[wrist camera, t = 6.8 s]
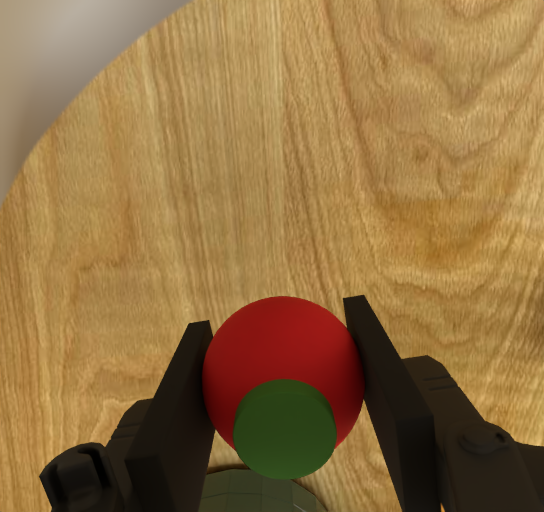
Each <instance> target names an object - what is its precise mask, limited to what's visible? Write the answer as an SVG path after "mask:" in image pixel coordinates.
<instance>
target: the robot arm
mask: <svg viewBox="0 0 544 512" xmlns="http://www.w3.org/2000/svg"><path fill="white" fill-rule="evenodd" d="M343 303H344V310H345V318H346V325H347V329H348V331H349V332H350V333H351V335H352V337H353V339H354V341H355V343H356V344H357V346H358V349H359V353H360V356H361V361H362V365H363V371H364V376H365V393H364V401H365V404H366V407H367V410H368V413H369V415H370V418H371V421H372V424H373V427H374V430H375V433H376V436H377V439H378V442H379V445H380V447H381V450H382V453H383V456H384V459H385V462H386V465H387V468H388V471H389V474H390V477H391V480H392V482H393V485H394V488H395V491H396V494H397V497H398V500H399V503H400V506H401V509H402V512H441V504H442V506H443V508H444V510H445V512H544V447H542V446H533V445H528V444H522V443H519V442H516V441H514V439H513V438H512V437H511V435H510V434H509V433H508V432H506V431H505V430H503V429H502V428H501V427H499V426H497V425H494V424H492V423H489V422H486V421H484V419H483V418H482V417H481V415H480V414H479V413H478V411H477V410H476V409H475V407H474V406H473V405H472V403H471V402H470V401H469V399H468V398H467V397H466V395H465V394H464V393H463V391H462V390H461V389H460V387H458V385H457V383H456V382H455V381H454V379H453V378H452V377H451V376H450V374H449V373H448V371H447V370H446V369H445V367H444V366H443V365H442V363H440V362H438V361H436V360H435V359H433V358H431V357H430V356H428V355H425V356H418V357H412V358H405V359H401V358H400V356H399V355H398V353H397V351H396V349H395V348H394V346H393V344H392V342H391V341H390V339H389V337H388V336H387V334H386V332H385V330H384V329H383V327H382V325H381V323H380V322H379V320H378V318H377V317H376V315H375V313H374V311H373V310H372V308H371V306H370V304H369V303H368V301H367V299H366V298H365V296H364V295H360V296H354V297H347V298H343ZM212 339H213V334H212V330H211V326H210V322H209V320H206V321H200V322H194V323H189V324H188V326H187V328H186V330H185V332H184V335H183V337H182V339H181V341H180V343H179V345H178V347H177V349H176V351H175V353H174V356H173V358H172V360H171V362H170V364H169V366H168V368H167V370H166V372H165V374H164V377H163V379H162V381H161V383H160V385H159V387H158V389H157V391H156V393H155V395H154V398H152V399H146V400H139V401H137V402H136V403H135V404H134V405H132V406H131V407H130V408H129V409H128V410H127V411H126V412H125V413H124V415H123V417H122V418H121V420H120V422H119V424H118V426H117V429H115V431H114V433H113V435H112V436H111V440H109V442H108V444H107V445H106V447H104V446H103V445H102V444H101V443H94V442H90V443H85V444H80V445H77V446H75V447H72V448H70V449H68V450H66V451H64V452H63V453H61V454H60V455H58V456H57V457H55V458H54V459H53V460H52V461H51V462H50V463H49V464H48V465H47V466H45V468H44V469H43V471H42V473H41V474H40V476H39V477H40V480H41V482H42V485H43V487H44V489H45V492H46V494H47V497H48V499H49V502H50V504H51V506H52V510H51V512H198V511H199V506H200V501H201V496H202V491H203V487H204V482H205V477H206V472H207V467H208V463H209V458H210V453H211V448H212V443H213V438H214V434H215V427H214V425H213V423H212V421H211V419H210V417H209V415H208V412H207V410H206V407H205V403H204V398H203V393H202V370H203V364H204V359H205V356H206V352H207V350H208V347H209V345H210V343H211V341H212Z"/></svg>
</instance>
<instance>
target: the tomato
mask: <svg viewBox="0 0 544 512" xmlns="http://www.w3.org/2000/svg"><path fill="white" fill-rule="evenodd" d="M202 393H203V398H204V403H205V407H206V410H207V412H208V415H209V417H210V419H211V421H212V423H213V425H214V427H215V429H216V430H217V432H218V433H219V434H220V436H221V437H222V438H223V439H224V440H225V441H226V442H227V443H228V444H229V445H230V446H231V447H232V448H233V449H234V450H235V451H236V452H237V454H238V456H239V457H240V458H241V460H242V461H243V462H244V463H245V464H246V465H247V466H248V467H249V468H250V469H252V470H253V471H255V472H257V473H259V474H261V475H263V476H266V477H269V478H274V479H286V480H287V479H296V478H300V477H304V476H307V475H309V474H311V473H313V472H315V471H316V470H318V469H319V468H320V467H322V466H323V465H324V464H325V463H326V462H327V461H328V459H329V458H330V457H331V455H332V453H333V451H334V449H335V448H336V447H337V446H338V445H339V444H340V443H341V442H342V441H343V440H344V439H345V438H346V437H347V435H348V434H349V433H350V431H351V430H352V428H353V426H354V424H355V422H356V420H357V418H358V416H359V413H360V411H361V407H362V403H363V399H364V393H365V376H364V371H363V365H362V361H361V356H360V353H359V349H358V346H357V344H356V343H355V341H354V339H353V337H352V335H351V333H350V332H349V331H348V329H347V328H346V327H345V325H344V324H343V323H342V322H341V321H340V320H339V319H338V318H337V317H336V316H335V315H333V314H332V313H331V312H329V311H328V310H327V309H325V308H323V307H321V306H320V305H318V304H315V303H313V302H310V301H308V300H304V299H301V298H296V297H288V296H278V297H269V298H265V299H261V300H258V301H255V302H252V303H250V304H248V305H246V306H244V307H243V308H241V309H239V310H238V311H237V312H235V313H234V314H233V315H231V316H230V317H229V318H228V319H227V320H226V321H225V322H224V323H223V325H222V326H221V327H220V328H219V329H218V331H217V332H216V334H215V335H214V337H213V339H212V341H211V343H210V345H209V347H208V350H207V352H206V356H205V359H204V364H203V370H202Z"/></svg>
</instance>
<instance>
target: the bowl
mask: <svg viewBox="0 0 544 512" xmlns="http://www.w3.org/2000/svg"><path fill="white" fill-rule="evenodd" d="M198 512H327V511H326V509H325V508H324V507H323V506H322V504H321V503H320V502H319V500H318V499H317V498H316V497H315V496H314V495H313V494H312V493H310V492H309V491H307V490H306V489H304V488H303V487H301V486H300V485H298V484H297V483H295V482H294V481H292V480H291V479H287V480H286V479H274V478H269V477H266V476H263V475H261V474H259V473H257V472H255V471H253V470H242V469H230V470H225V471H221V472H216V473H211V474H207V475H206V477H205V482H204V487H203V491H202V496H201V501H200V506H199V511H198Z"/></svg>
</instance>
